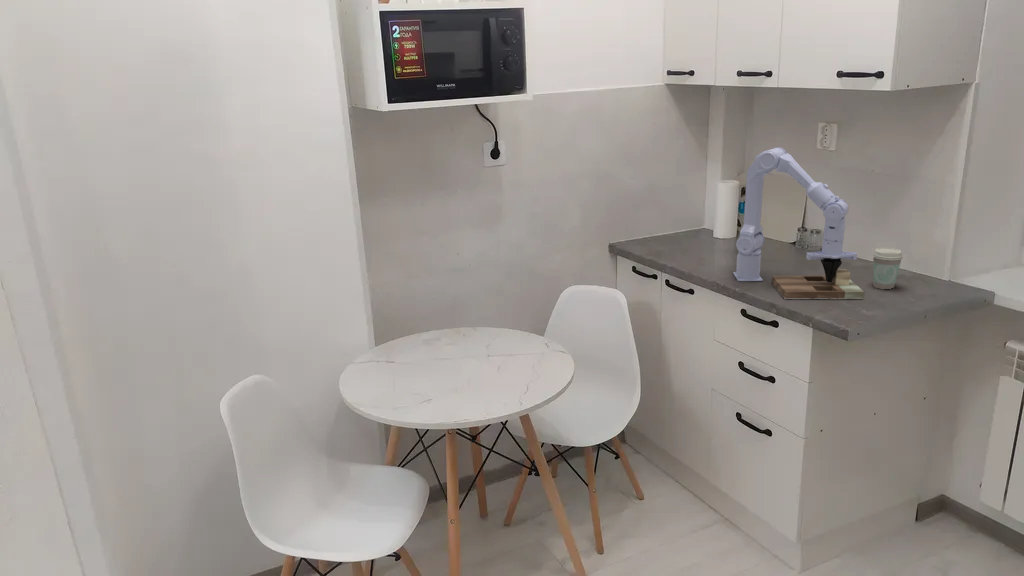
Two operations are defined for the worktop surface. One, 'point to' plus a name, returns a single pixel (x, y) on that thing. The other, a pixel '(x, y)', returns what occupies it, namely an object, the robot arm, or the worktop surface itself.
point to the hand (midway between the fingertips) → (828, 281)
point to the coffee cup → (886, 267)
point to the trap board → (815, 288)
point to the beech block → (841, 277)
